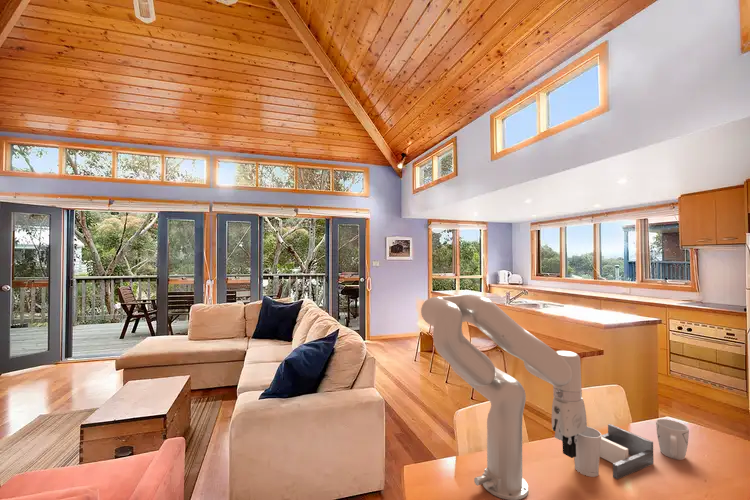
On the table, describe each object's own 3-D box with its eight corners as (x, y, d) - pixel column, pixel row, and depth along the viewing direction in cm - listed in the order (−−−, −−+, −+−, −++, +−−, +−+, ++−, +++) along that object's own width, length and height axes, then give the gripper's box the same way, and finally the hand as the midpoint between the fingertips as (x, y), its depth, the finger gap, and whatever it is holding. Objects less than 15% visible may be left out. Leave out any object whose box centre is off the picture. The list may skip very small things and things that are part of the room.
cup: (593, 463, 111) (593, 425, 112) (607, 479, 104) (607, 438, 104) (567, 462, 112) (567, 424, 113) (579, 477, 104) (578, 436, 105)
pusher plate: (625, 469, 108) (625, 450, 108) (593, 453, 117) (593, 435, 117) (628, 468, 109) (628, 448, 109) (596, 452, 118) (596, 434, 118)
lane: (617, 479, 104) (616, 455, 104) (574, 456, 116) (574, 434, 116) (653, 463, 112) (653, 441, 112) (610, 443, 124) (610, 423, 124)
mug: (691, 469, 109) (691, 437, 109) (657, 459, 114) (656, 429, 114) (687, 453, 118) (687, 423, 118) (655, 445, 123) (655, 416, 123)
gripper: (561, 403, 98) (564, 468, 98) (595, 393, 105) (597, 454, 104) (539, 393, 105) (541, 455, 105) (572, 385, 111) (574, 443, 111)
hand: (569, 455), depth 104 cm, fingers closed
